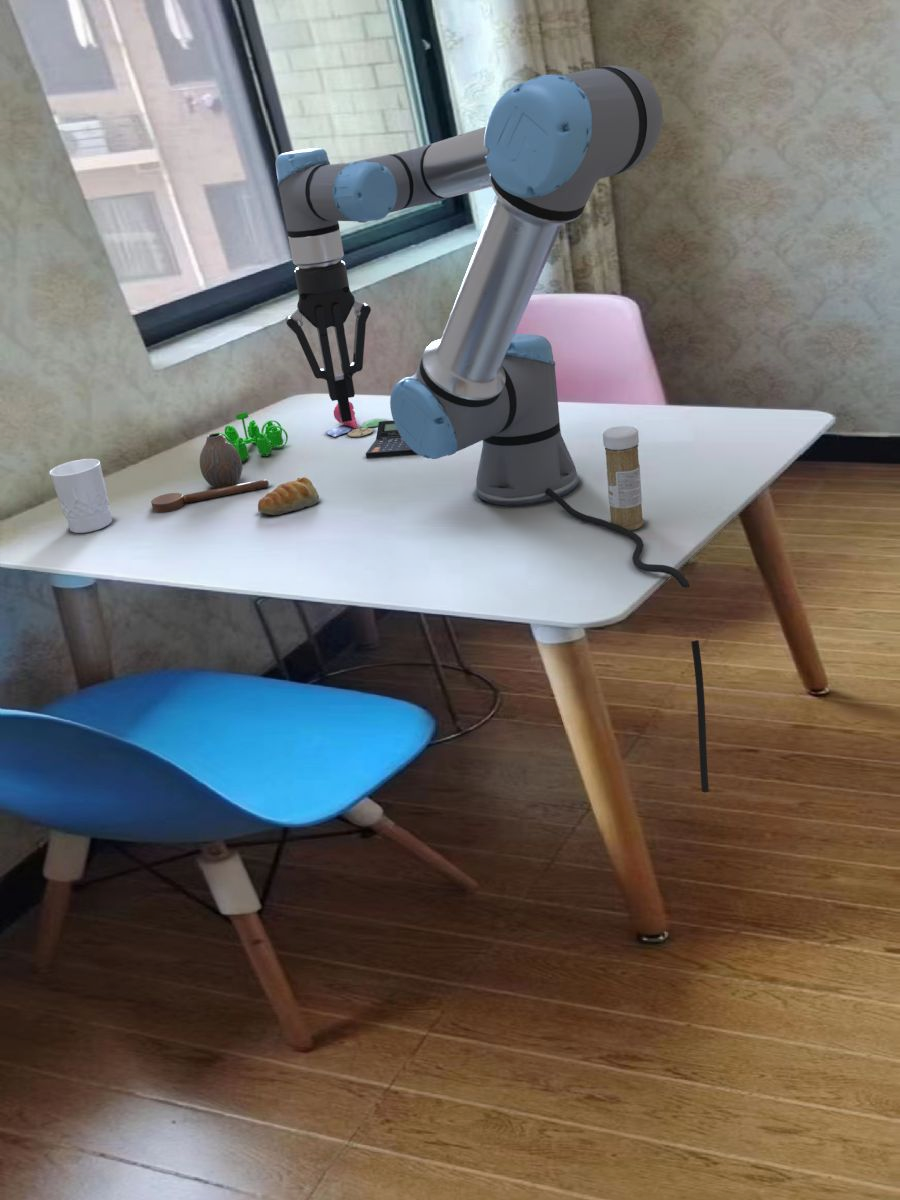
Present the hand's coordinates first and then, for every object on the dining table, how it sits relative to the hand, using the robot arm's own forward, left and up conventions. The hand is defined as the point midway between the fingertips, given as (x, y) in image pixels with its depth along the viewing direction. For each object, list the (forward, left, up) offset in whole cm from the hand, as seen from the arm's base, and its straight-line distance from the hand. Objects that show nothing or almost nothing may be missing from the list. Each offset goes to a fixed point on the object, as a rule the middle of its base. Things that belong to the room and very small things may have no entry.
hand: (346, 418), depth 178 cm
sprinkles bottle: (-35, -32, -12) cm, 49 cm away
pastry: (0, +11, -12) cm, 16 cm away
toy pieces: (+37, -4, -12) cm, 39 cm away
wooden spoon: (+12, +24, -12) cm, 29 cm away
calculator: (+21, -10, -12) cm, 26 cm away
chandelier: (+35, +16, -12) cm, 40 cm away
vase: (+18, +21, -12) cm, 30 cm away
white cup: (+10, +43, -12) cm, 46 cm away
